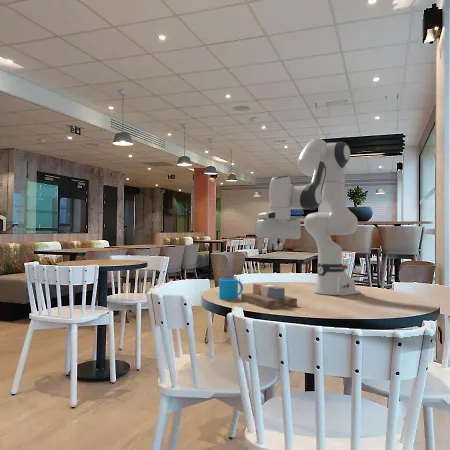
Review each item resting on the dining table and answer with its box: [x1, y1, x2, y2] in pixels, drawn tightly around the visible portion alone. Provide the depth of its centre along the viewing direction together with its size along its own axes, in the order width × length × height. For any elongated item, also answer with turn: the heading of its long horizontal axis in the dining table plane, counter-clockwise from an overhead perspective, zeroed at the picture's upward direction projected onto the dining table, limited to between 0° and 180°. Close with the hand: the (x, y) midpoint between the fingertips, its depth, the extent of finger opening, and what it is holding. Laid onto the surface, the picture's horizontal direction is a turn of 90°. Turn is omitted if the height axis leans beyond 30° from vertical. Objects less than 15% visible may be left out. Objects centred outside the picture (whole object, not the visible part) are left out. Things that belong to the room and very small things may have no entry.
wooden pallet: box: [240, 292, 298, 309], centre depth 176 cm, size 14×20×3 cm
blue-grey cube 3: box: [269, 286, 286, 300], centre depth 171 cm, size 4×4×4 cm
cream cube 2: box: [261, 284, 277, 297], centre depth 176 cm, size 4×4×4 cm
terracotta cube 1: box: [252, 282, 269, 295], centre depth 182 cm, size 4×4×4 cm
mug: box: [218, 278, 244, 301], centre depth 189 cm, size 12×8×8 cm
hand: (278, 250), depth 172 cm, fingers closed
